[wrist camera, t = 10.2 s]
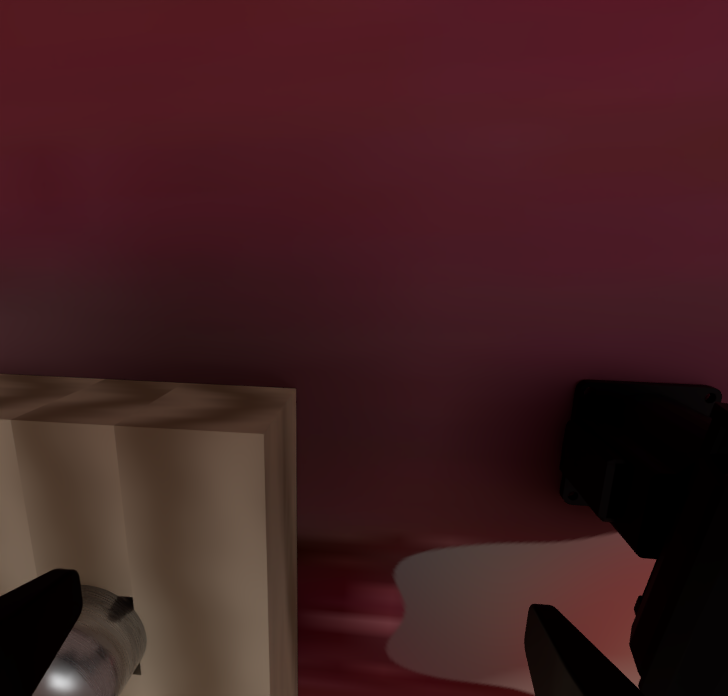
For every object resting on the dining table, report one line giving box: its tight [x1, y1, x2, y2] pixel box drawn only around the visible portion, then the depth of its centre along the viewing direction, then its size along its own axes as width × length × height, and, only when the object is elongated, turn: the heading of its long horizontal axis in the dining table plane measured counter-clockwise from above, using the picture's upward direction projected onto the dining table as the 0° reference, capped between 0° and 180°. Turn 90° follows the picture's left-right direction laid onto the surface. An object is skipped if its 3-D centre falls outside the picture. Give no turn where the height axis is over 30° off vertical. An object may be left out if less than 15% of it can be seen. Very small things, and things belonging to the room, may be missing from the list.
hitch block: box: [0, 374, 298, 696], centre depth 21 cm, size 16×20×6 cm
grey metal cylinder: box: [32, 585, 147, 696], centre depth 19 cm, size 5×5×8 cm
